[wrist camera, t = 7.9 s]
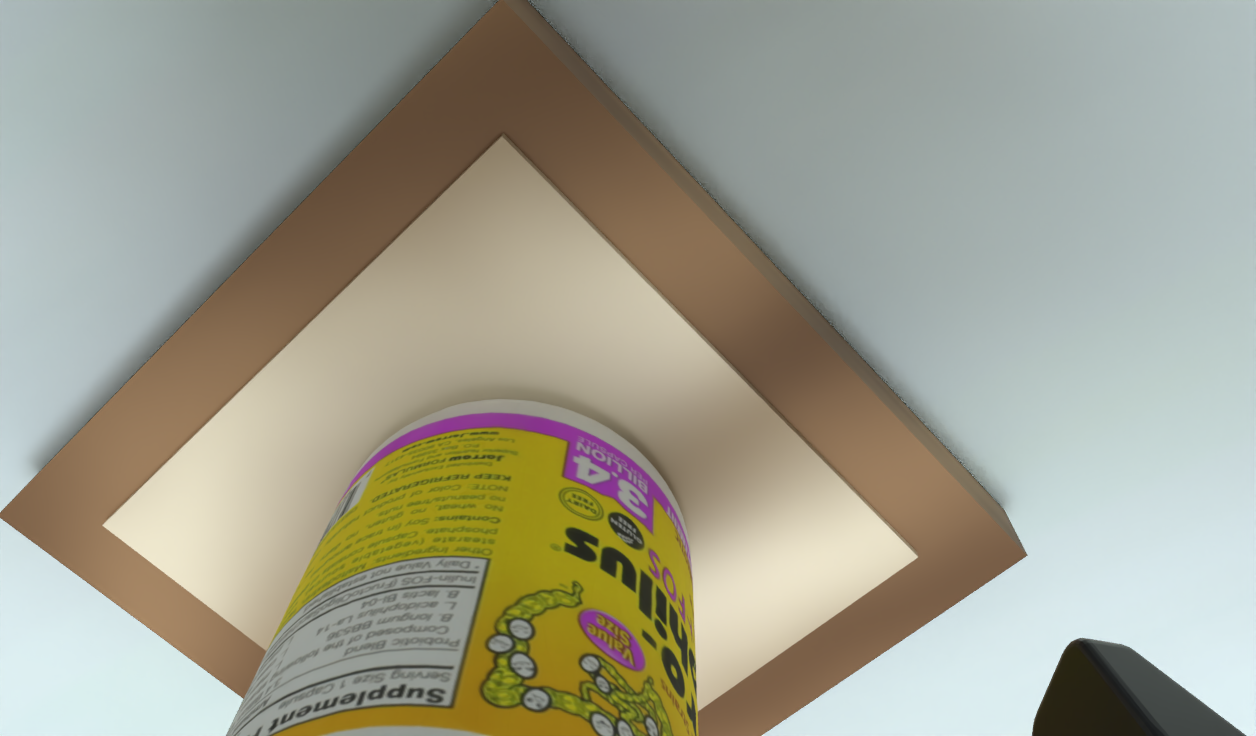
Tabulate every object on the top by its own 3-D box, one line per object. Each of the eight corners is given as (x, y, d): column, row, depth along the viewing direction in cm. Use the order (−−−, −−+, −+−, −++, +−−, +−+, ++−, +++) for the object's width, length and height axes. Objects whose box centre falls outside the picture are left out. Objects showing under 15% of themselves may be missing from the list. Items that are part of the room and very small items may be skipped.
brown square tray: (1004, 510, 23) (1030, 561, 22) (523, 844, 28) (515, 908, 26) (513, -15, 19) (499, -1, 18) (37, 473, 24) (-9, 521, 22)
